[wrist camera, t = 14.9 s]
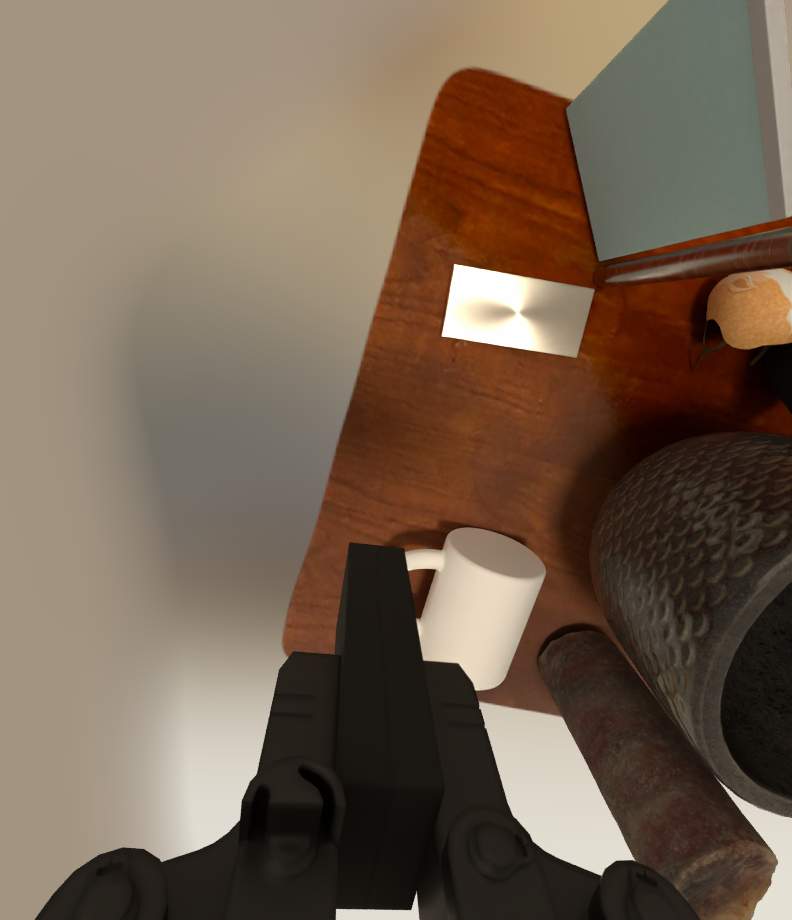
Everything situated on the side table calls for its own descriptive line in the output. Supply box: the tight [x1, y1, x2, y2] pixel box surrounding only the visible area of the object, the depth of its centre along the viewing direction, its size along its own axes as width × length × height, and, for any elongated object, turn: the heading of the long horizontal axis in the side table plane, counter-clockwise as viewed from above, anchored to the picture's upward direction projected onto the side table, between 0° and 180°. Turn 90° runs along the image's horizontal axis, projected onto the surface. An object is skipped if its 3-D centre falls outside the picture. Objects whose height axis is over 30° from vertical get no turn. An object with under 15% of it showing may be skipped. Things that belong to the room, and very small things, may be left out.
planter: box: [589, 431, 792, 818], centre depth 32 cm, size 20×20×19 cm
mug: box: [405, 528, 546, 690], centre depth 38 cm, size 12×10×8 cm
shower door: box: [566, 0, 792, 261], centre depth 25 cm, size 10×3×16 cm, turn 20°
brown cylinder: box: [538, 631, 778, 920], centre depth 35 cm, size 8×7×20 cm
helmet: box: [693, 269, 792, 373], centre depth 34 cm, size 6×7×8 cm
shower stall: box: [440, 226, 792, 358], centre depth 26 cm, size 12×7×18 cm, turn 81°
